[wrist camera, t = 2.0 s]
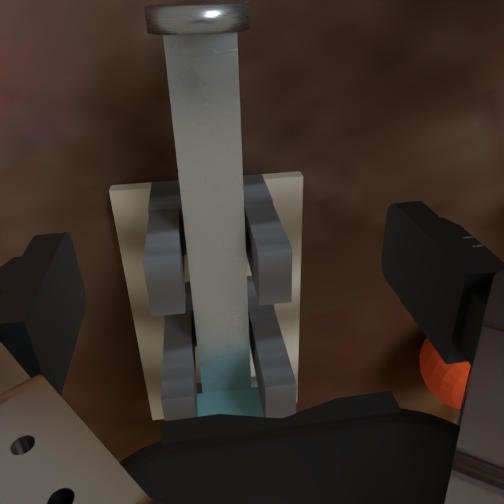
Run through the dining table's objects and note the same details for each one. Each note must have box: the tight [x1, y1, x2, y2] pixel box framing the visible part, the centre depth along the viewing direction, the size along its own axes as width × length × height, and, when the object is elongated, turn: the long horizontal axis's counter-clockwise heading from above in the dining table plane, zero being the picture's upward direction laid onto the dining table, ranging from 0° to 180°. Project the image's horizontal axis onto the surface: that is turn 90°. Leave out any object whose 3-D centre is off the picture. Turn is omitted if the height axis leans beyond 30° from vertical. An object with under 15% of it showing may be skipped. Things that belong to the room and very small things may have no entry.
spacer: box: [197, 387, 264, 417], centre depth 28 cm, size 4×5×4 cm
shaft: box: [144, 2, 251, 393], centre depth 27 cm, size 30×4×4 cm, turn 2°
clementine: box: [419, 337, 471, 409], centre depth 36 cm, size 8×7×7 cm
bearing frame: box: [109, 171, 303, 421], centre depth 30 cm, size 20×12×12 cm, turn 2°
